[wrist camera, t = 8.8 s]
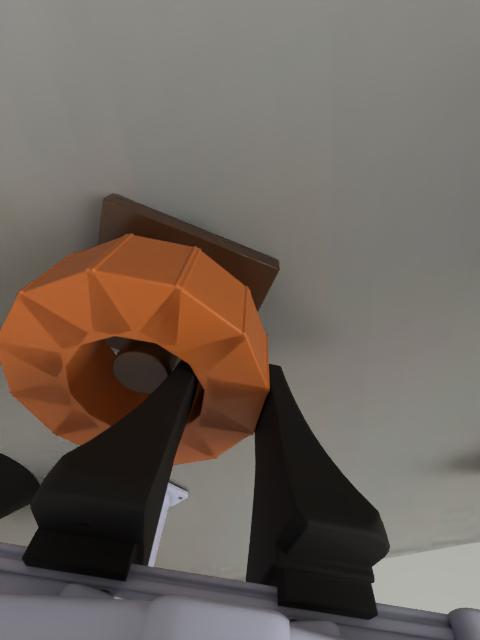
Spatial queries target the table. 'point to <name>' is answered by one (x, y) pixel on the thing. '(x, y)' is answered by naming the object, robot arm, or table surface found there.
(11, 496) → the spring support
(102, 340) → the ring
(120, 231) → the stand
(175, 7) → the table surface
